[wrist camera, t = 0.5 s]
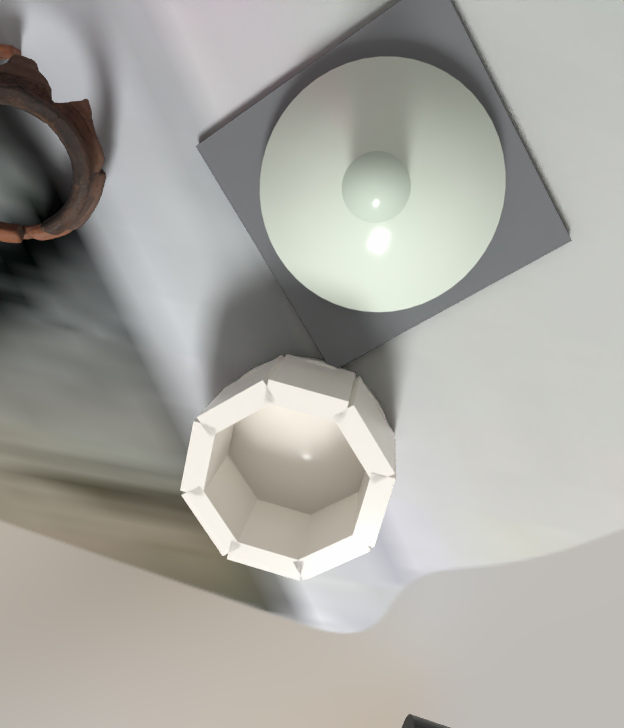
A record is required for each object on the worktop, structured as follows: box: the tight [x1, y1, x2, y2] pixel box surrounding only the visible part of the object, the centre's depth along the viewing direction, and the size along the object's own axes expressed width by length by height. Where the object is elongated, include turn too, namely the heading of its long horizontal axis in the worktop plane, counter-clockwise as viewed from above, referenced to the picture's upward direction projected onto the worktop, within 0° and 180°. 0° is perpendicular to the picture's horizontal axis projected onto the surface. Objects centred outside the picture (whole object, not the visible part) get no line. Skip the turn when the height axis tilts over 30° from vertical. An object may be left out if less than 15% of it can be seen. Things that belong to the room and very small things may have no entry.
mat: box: [196, 0, 572, 368], centre depth 29 cm, size 14×14×1 cm
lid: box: [260, 56, 506, 312], centre depth 26 cm, size 12×12×6 cm
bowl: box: [180, 354, 396, 581], centre depth 31 cm, size 11×11×5 cm
